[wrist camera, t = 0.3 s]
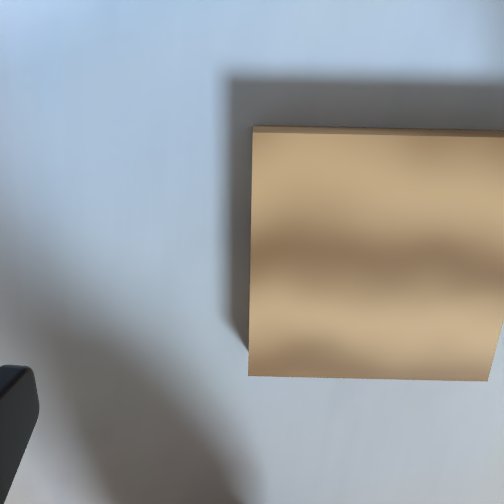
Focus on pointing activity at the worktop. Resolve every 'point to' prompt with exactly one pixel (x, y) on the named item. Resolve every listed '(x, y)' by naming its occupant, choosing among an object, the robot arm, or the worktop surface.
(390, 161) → the tan flat square slab
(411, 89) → the worktop surface
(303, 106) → the worktop surface
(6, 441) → the robot arm
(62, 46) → the worktop surface
